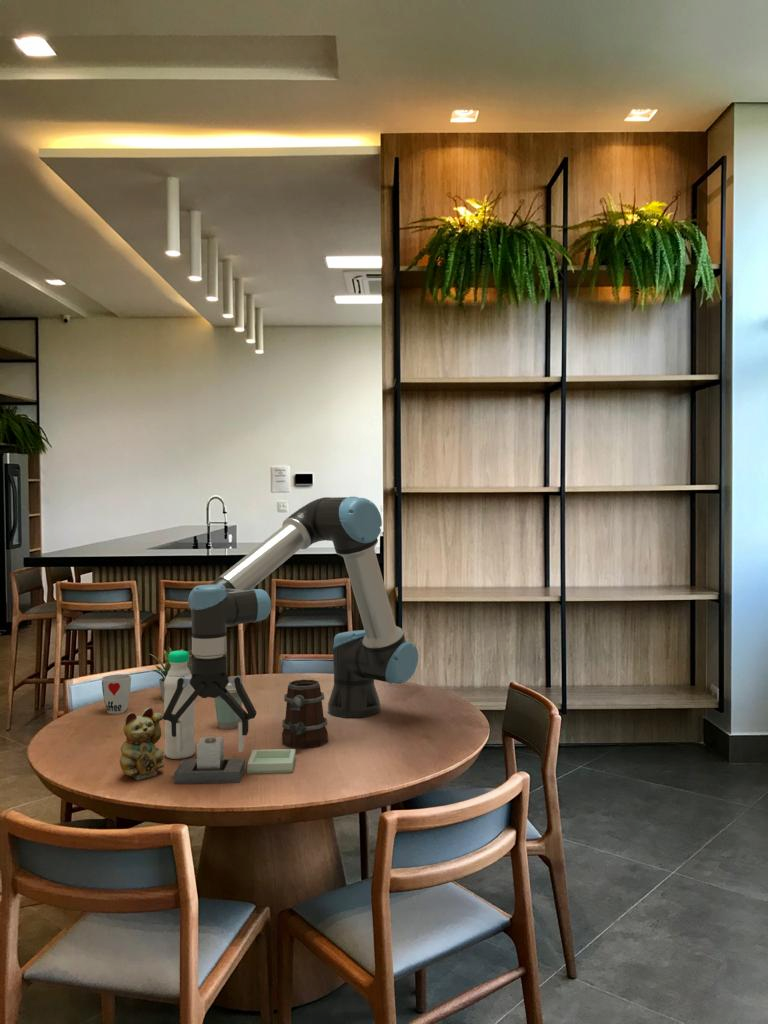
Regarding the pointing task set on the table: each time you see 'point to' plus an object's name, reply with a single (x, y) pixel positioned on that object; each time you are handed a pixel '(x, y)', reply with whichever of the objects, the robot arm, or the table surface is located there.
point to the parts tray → (271, 761)
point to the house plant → (166, 668)
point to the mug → (304, 715)
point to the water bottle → (188, 731)
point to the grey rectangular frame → (209, 772)
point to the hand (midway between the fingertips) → (210, 750)
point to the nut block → (210, 754)
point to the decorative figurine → (142, 745)
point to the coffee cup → (227, 710)
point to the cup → (116, 692)
